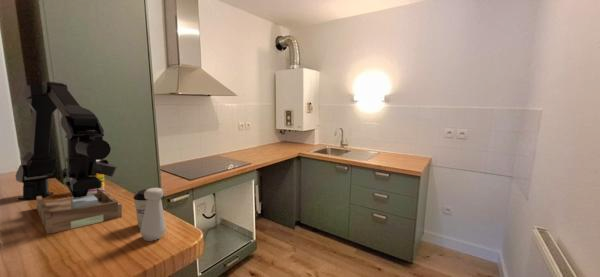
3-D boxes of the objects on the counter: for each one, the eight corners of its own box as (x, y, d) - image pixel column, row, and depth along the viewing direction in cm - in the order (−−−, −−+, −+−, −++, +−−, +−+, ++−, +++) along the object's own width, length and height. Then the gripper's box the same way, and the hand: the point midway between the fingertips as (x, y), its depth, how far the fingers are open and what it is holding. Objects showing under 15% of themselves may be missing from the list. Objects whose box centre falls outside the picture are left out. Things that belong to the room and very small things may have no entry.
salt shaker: (154, 244, 61) (154, 193, 60) (134, 241, 62) (134, 190, 61) (170, 234, 67) (171, 187, 66) (152, 230, 68) (153, 184, 67)
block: (70, 213, 71) (70, 198, 71) (92, 208, 75) (92, 194, 75) (75, 219, 67) (75, 203, 67) (98, 214, 71) (98, 199, 71)
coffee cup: (137, 221, 73) (137, 188, 72) (163, 219, 76) (163, 187, 75) (129, 231, 67) (130, 195, 66) (158, 229, 69) (159, 194, 68)
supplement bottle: (100, 194, 94) (100, 161, 93) (79, 195, 92) (78, 161, 91) (107, 189, 100) (107, 158, 99) (86, 189, 98) (86, 158, 97)
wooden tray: (36, 208, 78) (36, 193, 77) (100, 197, 90) (100, 184, 90) (47, 234, 63) (46, 215, 62) (121, 217, 75) (121, 201, 75)
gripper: (123, 157, 73) (122, 208, 75) (105, 148, 85) (105, 192, 86) (73, 161, 65) (73, 218, 66) (60, 150, 76) (61, 199, 78)
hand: (80, 205), depth 74 cm, fingers closed
